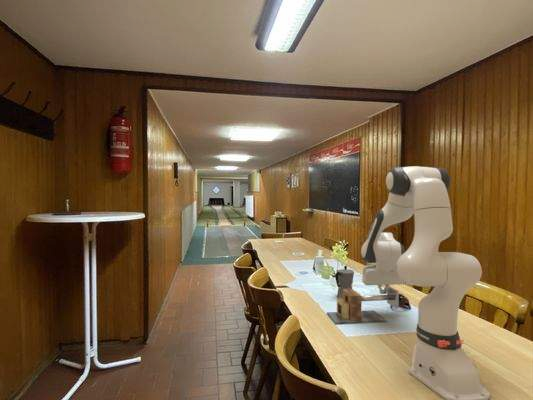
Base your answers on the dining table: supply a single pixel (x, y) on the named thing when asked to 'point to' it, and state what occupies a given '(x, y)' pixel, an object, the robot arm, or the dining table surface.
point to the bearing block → (355, 310)
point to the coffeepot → (344, 280)
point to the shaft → (385, 297)
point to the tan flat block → (342, 309)
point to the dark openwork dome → (403, 301)
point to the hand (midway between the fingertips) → (383, 293)
